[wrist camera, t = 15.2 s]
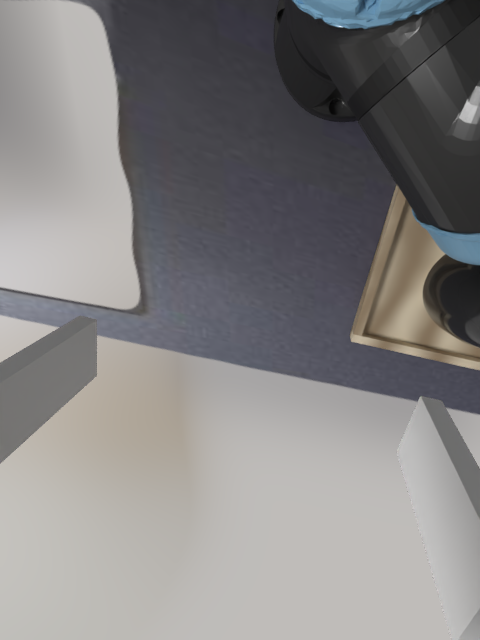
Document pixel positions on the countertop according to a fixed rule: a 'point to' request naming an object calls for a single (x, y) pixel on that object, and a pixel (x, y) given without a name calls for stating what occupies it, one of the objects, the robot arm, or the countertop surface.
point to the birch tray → (405, 294)
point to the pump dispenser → (454, 298)
